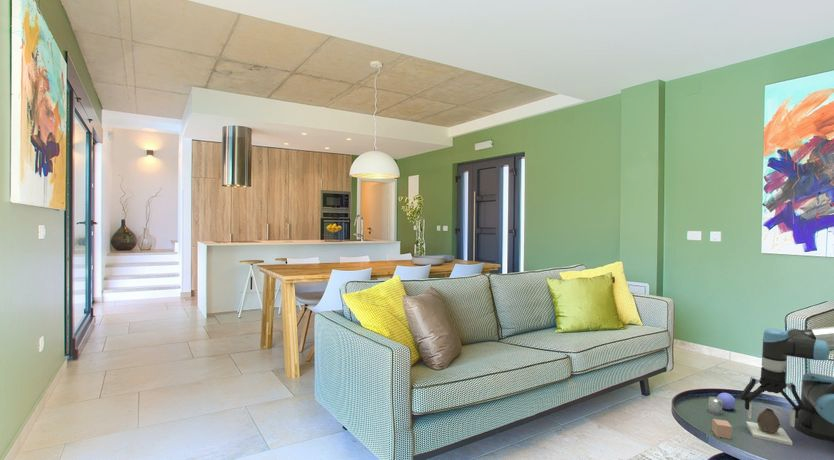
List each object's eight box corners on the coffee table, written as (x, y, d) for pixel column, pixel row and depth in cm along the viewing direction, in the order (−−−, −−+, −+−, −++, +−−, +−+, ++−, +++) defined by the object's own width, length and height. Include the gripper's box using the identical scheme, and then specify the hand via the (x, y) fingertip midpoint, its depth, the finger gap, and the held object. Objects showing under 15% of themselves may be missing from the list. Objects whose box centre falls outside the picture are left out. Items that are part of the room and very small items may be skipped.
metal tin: (720, 411, 194) (721, 398, 194) (722, 416, 190) (723, 402, 189) (707, 408, 196) (708, 395, 196) (709, 413, 192) (709, 400, 192)
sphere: (730, 413, 192) (731, 397, 192) (712, 407, 199) (714, 391, 198) (738, 410, 196) (739, 394, 196) (721, 403, 202) (722, 389, 202)
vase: (782, 436, 171) (784, 414, 171) (762, 434, 173) (763, 412, 172) (772, 428, 178) (774, 407, 177) (753, 425, 179) (754, 404, 179)
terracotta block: (726, 433, 175) (727, 420, 175) (731, 439, 171) (732, 426, 170) (711, 430, 177) (712, 418, 177) (716, 437, 172) (717, 424, 172)
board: (782, 431, 178) (782, 428, 178) (792, 445, 167) (792, 442, 167) (746, 423, 183) (746, 421, 183) (753, 437, 173) (753, 434, 173)
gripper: (810, 371, 172) (807, 424, 173) (733, 360, 183) (730, 410, 184) (818, 377, 165) (814, 433, 166) (737, 366, 176) (734, 418, 177)
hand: (770, 421), depth 175 cm, fingers open, 13 cm apart
